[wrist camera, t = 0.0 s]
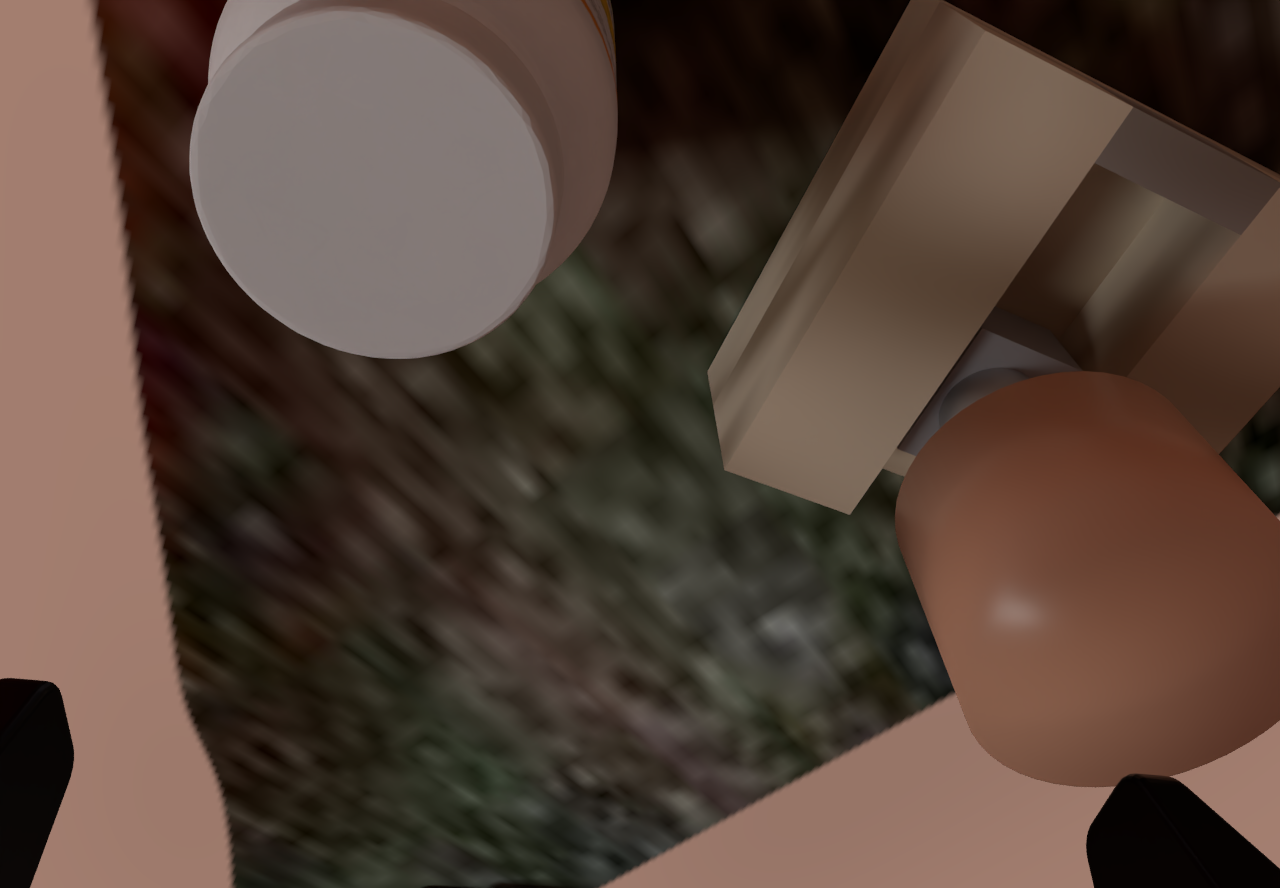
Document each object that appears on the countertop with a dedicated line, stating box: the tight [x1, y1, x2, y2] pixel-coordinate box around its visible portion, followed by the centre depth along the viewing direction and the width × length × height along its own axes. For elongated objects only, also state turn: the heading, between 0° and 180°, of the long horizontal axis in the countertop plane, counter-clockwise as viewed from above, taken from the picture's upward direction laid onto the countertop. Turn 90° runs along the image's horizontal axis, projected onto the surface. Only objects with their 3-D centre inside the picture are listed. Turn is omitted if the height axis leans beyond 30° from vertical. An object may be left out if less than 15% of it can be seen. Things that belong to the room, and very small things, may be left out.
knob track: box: [707, 0, 1280, 515], centre depth 20 cm, size 9×9×4 cm
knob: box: [895, 306, 1280, 787], centre depth 18 cm, size 5×5×9 cm
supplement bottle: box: [190, 0, 618, 359], centre depth 15 cm, size 5×5×10 cm
